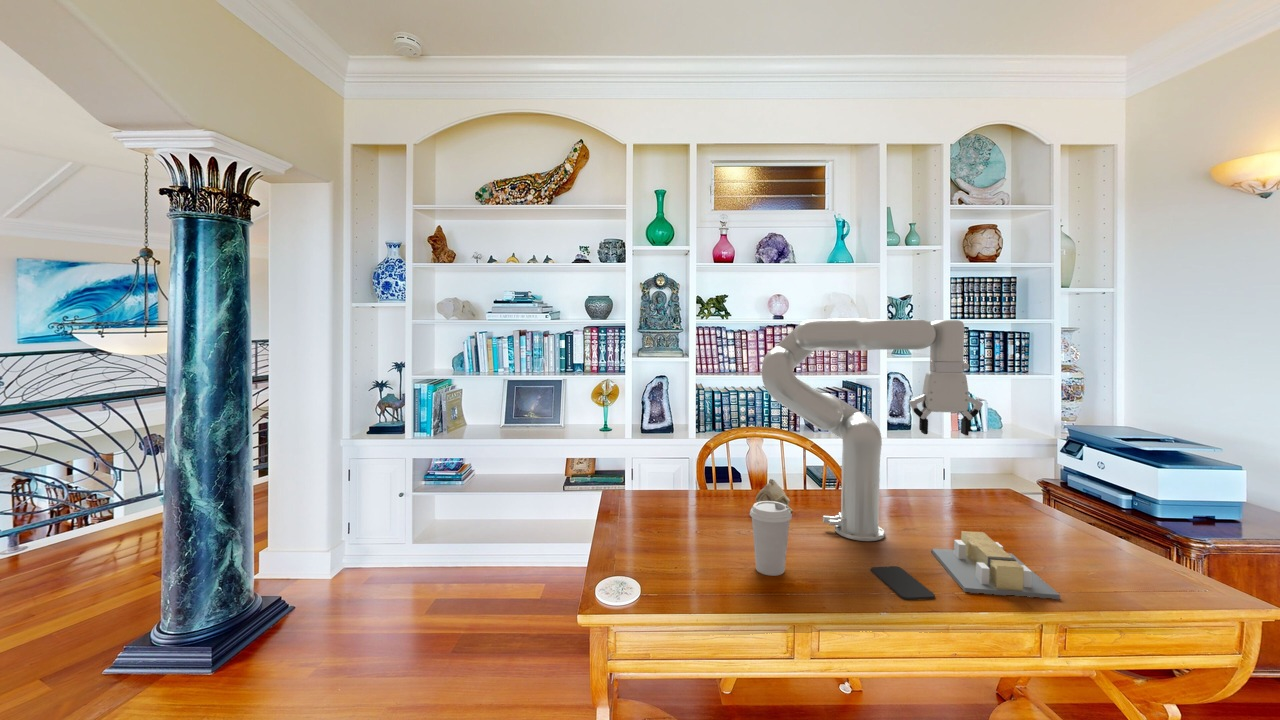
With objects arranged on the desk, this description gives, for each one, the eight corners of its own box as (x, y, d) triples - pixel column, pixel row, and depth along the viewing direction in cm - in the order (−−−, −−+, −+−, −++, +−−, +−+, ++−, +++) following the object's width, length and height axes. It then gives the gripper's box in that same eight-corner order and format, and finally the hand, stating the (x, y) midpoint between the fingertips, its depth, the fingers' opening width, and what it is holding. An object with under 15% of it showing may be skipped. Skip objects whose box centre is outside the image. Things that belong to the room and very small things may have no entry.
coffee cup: (784, 582, 123) (784, 516, 122) (743, 572, 128) (743, 508, 127) (796, 566, 131) (797, 504, 130) (757, 557, 136) (758, 497, 135)
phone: (898, 565, 130) (937, 596, 115) (898, 569, 130) (937, 600, 115) (868, 567, 130) (903, 598, 115) (868, 570, 130) (903, 601, 115)
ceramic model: (762, 502, 178) (762, 471, 178) (796, 509, 172) (796, 477, 171) (744, 515, 167) (744, 482, 166) (780, 522, 160) (780, 488, 160)
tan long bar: (960, 550, 137) (961, 530, 136) (983, 552, 136) (984, 531, 135) (996, 588, 117) (997, 565, 117) (1023, 591, 116) (1023, 567, 116)
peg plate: (964, 592, 118) (965, 571, 117) (931, 552, 138) (932, 534, 138) (1059, 599, 114) (1060, 578, 114) (1011, 557, 135) (1012, 539, 135)
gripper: (976, 367, 145) (974, 432, 146) (906, 366, 148) (904, 430, 149) (989, 369, 138) (987, 437, 139) (914, 369, 141) (912, 435, 142)
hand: (944, 433), depth 144 cm, fingers open, 9 cm apart
